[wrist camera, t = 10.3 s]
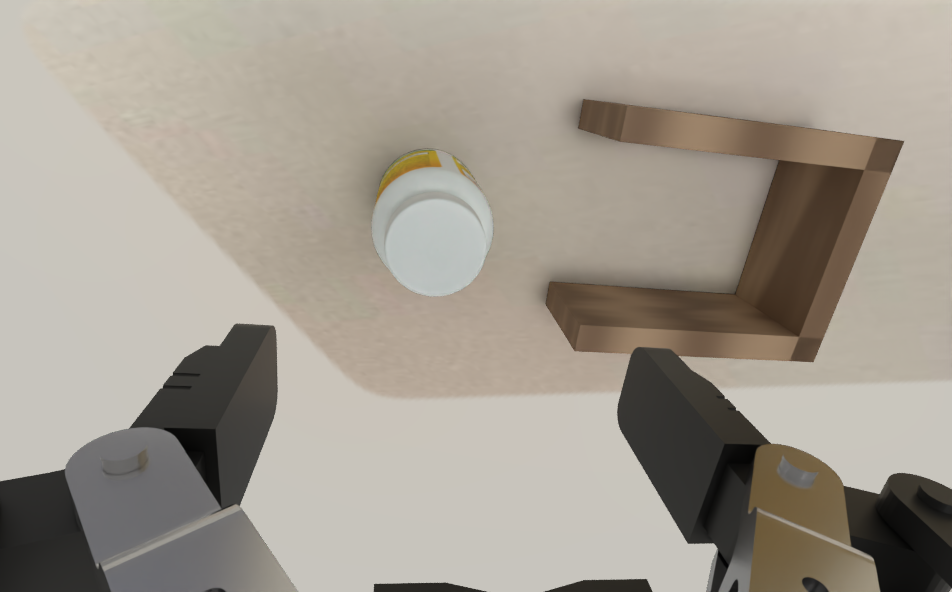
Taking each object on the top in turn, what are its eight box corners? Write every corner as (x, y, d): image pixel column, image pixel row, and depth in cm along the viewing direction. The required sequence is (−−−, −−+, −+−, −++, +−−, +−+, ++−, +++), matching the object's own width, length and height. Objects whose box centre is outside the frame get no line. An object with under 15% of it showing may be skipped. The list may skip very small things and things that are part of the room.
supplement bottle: (488, 166, 29) (527, 207, 20) (456, 254, 31) (479, 327, 22) (393, 132, 28) (390, 160, 19) (366, 227, 29) (350, 292, 21)
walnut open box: (813, 128, 30) (904, 141, 25) (748, 316, 35) (813, 362, 29) (583, 99, 28) (627, 105, 23) (545, 304, 33) (574, 351, 27)
